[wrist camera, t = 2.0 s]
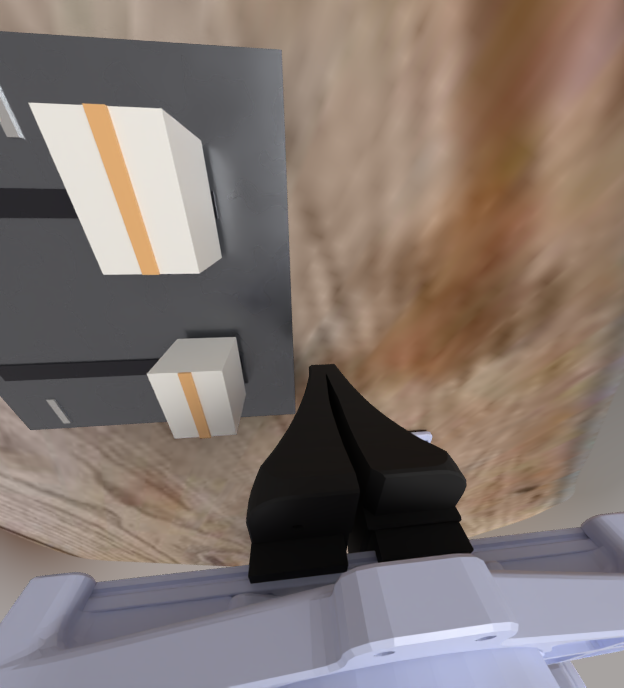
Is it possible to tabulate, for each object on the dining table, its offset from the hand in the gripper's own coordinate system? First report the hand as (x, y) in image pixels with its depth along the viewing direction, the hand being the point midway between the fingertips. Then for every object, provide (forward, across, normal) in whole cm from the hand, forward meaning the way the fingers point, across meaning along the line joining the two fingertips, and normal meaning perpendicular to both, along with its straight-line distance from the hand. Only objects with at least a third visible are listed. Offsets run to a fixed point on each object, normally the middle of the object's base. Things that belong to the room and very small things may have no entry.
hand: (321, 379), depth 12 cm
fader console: (+3, +10, -4) cm, 11 cm away
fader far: (+2, +6, 0) cm, 6 cm away
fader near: (+1, +6, -8) cm, 10 cm away
